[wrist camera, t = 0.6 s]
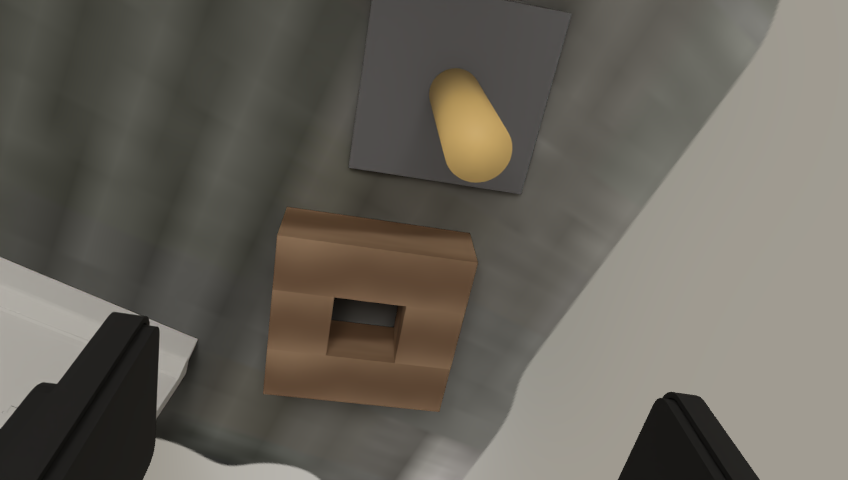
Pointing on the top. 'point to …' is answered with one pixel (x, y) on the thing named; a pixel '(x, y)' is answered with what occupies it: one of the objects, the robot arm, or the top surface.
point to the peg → (468, 127)
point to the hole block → (373, 282)
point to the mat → (445, 49)
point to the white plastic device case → (63, 336)
